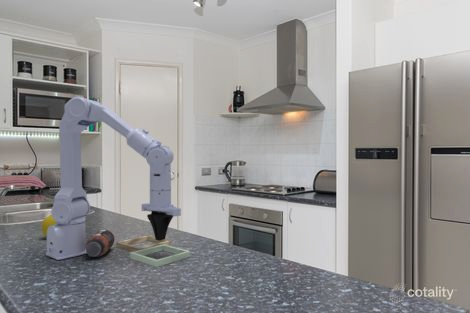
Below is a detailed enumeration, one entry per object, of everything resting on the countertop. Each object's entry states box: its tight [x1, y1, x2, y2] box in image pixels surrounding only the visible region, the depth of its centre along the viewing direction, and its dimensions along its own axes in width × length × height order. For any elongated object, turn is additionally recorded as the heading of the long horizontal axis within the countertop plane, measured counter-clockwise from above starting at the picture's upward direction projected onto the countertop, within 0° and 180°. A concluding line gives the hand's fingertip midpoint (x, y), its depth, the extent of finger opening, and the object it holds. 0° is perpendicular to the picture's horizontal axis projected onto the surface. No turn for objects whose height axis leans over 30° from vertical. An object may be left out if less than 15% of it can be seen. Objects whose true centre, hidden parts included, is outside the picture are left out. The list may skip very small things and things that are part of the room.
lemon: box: [41, 214, 56, 238], centre depth 116 cm, size 6×6×8 cm
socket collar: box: [116, 235, 172, 253], centre depth 107 cm, size 12×12×2 cm
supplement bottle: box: [85, 229, 115, 258], centre depth 98 cm, size 6×6×11 cm
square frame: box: [129, 244, 191, 268], centre depth 95 cm, size 12×12×2 cm
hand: (160, 239), depth 95 cm, fingers closed
